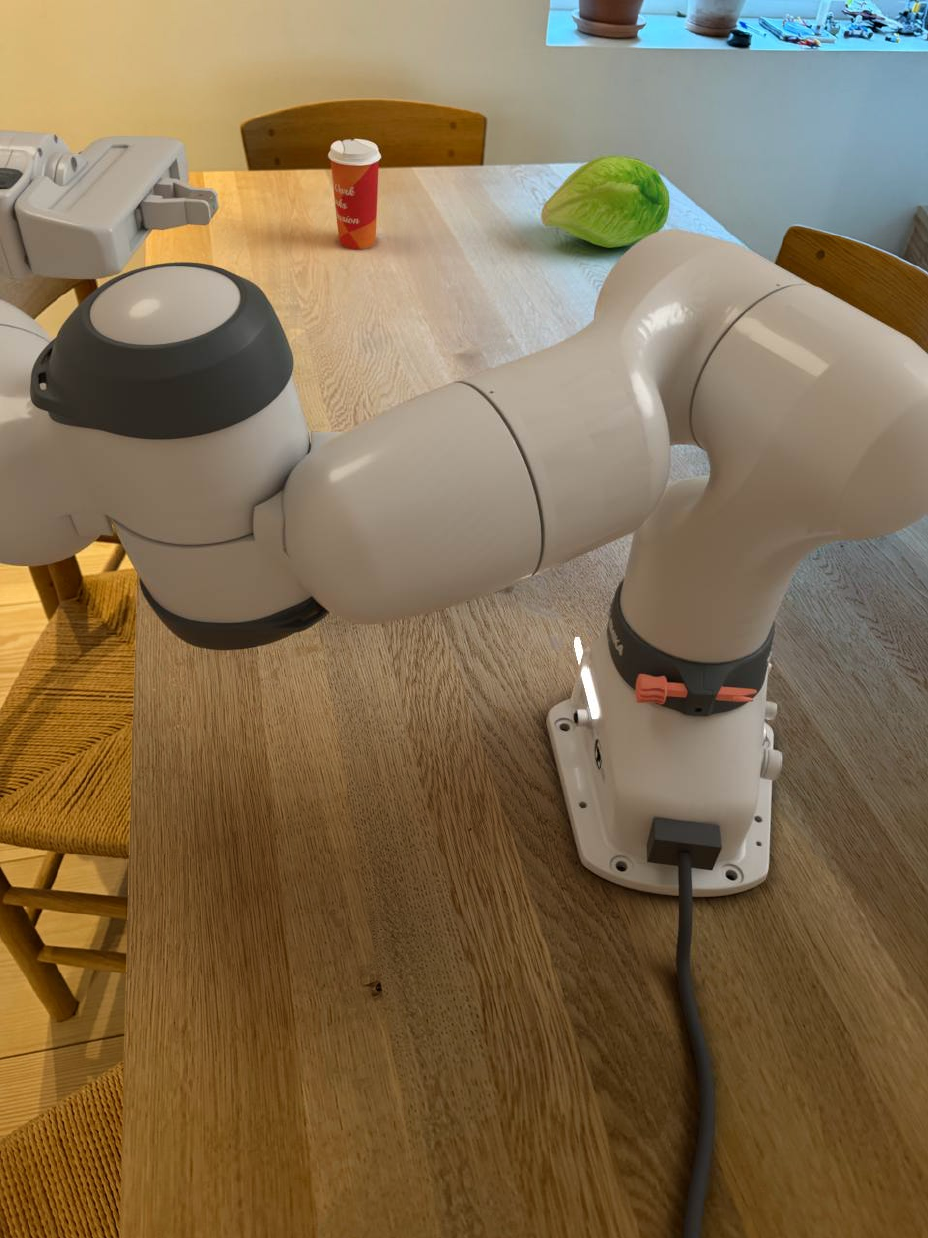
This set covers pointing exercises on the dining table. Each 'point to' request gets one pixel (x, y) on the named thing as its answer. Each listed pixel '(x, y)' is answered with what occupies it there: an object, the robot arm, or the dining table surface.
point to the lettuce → (610, 202)
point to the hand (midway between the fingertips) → (213, 207)
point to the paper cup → (355, 191)
